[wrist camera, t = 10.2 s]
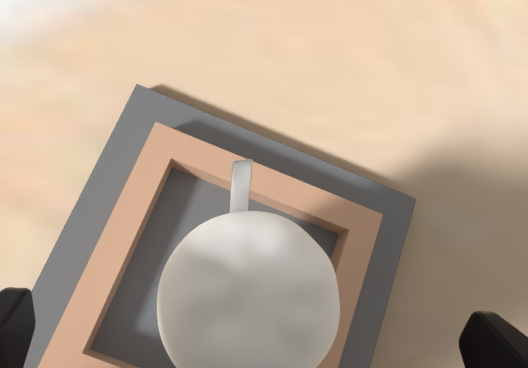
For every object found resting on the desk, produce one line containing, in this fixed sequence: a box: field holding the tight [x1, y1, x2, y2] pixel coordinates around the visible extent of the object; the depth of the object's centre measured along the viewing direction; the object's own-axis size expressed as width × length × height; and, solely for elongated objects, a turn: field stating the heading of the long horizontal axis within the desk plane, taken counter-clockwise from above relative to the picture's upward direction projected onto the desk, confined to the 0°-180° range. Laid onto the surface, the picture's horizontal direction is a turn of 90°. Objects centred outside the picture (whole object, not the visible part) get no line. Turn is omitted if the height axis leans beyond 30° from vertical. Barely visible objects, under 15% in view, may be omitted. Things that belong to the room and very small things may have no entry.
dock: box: [23, 84, 416, 368], centre depth 19 cm, size 14×14×2 cm
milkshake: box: [157, 159, 340, 368], centre depth 14 cm, size 4×5×10 cm
